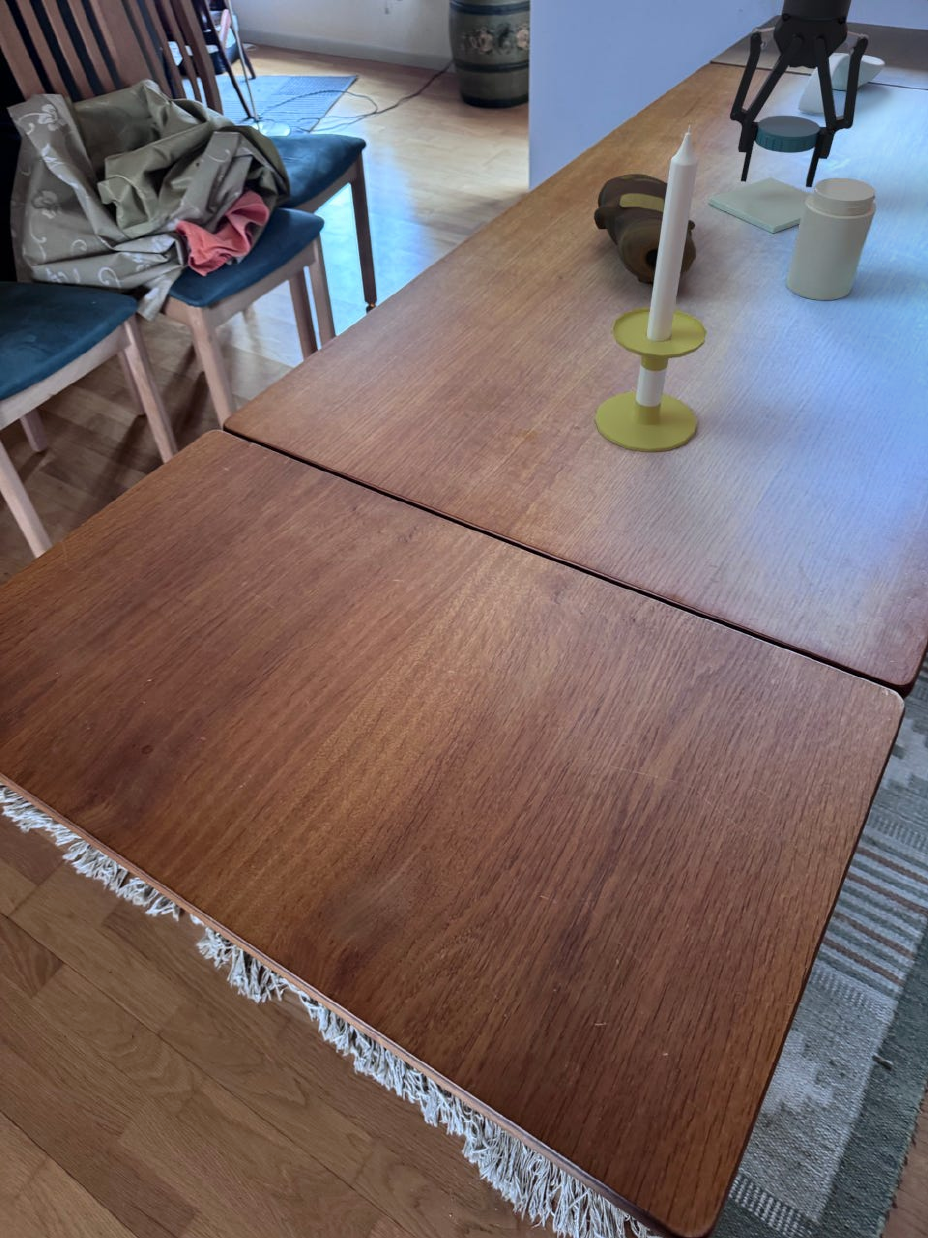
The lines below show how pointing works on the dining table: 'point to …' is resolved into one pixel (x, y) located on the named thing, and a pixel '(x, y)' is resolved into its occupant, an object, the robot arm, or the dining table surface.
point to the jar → (831, 238)
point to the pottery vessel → (638, 222)
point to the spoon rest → (837, 79)
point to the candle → (658, 333)
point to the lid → (787, 134)
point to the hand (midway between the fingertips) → (776, 179)
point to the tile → (764, 204)
